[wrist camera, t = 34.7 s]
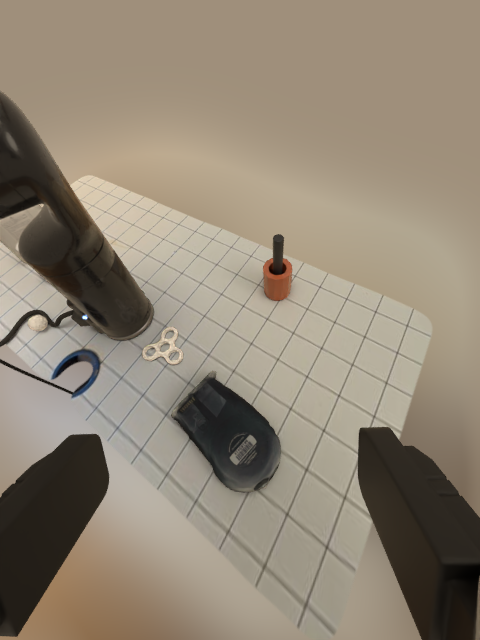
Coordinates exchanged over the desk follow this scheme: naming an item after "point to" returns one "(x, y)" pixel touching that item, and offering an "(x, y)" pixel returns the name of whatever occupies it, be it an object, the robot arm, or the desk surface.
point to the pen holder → (277, 280)
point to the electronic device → (230, 435)
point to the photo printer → (16, 227)
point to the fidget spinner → (166, 353)
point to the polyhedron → (37, 323)
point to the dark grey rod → (278, 254)
